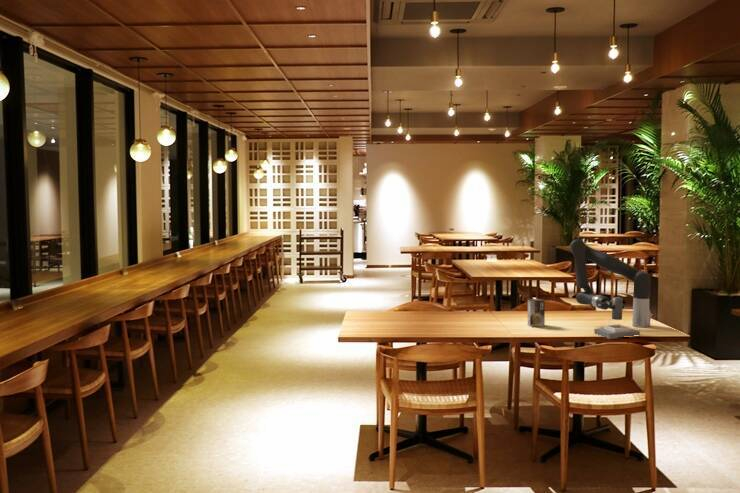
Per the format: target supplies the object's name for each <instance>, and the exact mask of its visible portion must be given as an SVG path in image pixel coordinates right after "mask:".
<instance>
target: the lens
mask: <svg viewBox="0 0 740 493" xmlns="http://www.w3.org/2000/svg"><path fill="white" fill-rule="evenodd" d="M611 298H612V300H611V301H612V305H615V309H611V319H612V320H615V321H616V320H617V321H620V320H623V309H622V305H624V304H623V302H624V300H623V297H620V296H619V297H617V296H614V297H611Z"/></svg>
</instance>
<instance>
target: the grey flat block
mask: <svg viewBox="0 0 740 493" xmlns="http://www.w3.org/2000/svg"><path fill="white" fill-rule="evenodd" d="M593 333H595V334H594V335H596V334H598V335H597V336H599V335H601V336H600V337H602V336H603V337H602V338H605V337H606V338H605V339H608V340H615V339H619V338H618V337H624V336H634V335H640V336H641V331H640V330H637V329H633V328H631V327H629V326H626V325H621V324H619V323H618V324H607V325H603V327H599V328H594V332H593Z"/></svg>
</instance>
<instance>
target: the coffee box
mask: <svg viewBox="0 0 740 493" xmlns="http://www.w3.org/2000/svg"><path fill="white" fill-rule="evenodd" d="M545 305H546V303H545V299H543V298H532V299H531V298H528V299H527V326H529V327H530V326H540V327H545V326H546V325H545V323H546V322H545V315H546V314H545V312H546V310H545V307H546V306H545Z"/></svg>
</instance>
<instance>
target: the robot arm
mask: <svg viewBox="0 0 740 493" xmlns="http://www.w3.org/2000/svg"><path fill="white" fill-rule="evenodd" d="M569 252H571V253H572V255H573V258H574V263H575V264H574V265H575V279H576V284H577V285H576V286H577V288H578V289H583V291H581V292H578V293H576V296H575V300H576V302H577V303H578V304H579V305H588V306H592V307H595V308H597V309H601V310H604V311H606V310H608V309H610V310H612V309H615V305H612V300H611V298H609V297H608V296H604V295H601V294H600V295H599V294H594V293H593V289H592V288H591V285H590V280H589V275H588V268H587V263H586V260H588V261H590V262H592V263H593V264H595V265H596V266H598V267H600V268H602V269H604V270H606V271H608V272H610V273H613V274H615V275H619V276H622V277H625V278H627V279H628V280H629V281H631V282H632V283H633V294H632V295H633V296H632V298H633V300H632V327H636V328H648V327H651V310H650V297H651V285H652V284H651V283H652V282H651V277H650V275H649V274H648V273H647V272H646V271H643V270H641V269H638V268H635V267H632V266H631V265H629V264H627V263H626V262H624V261H622V259H621V260H620V259H619V258H617V257H615V256H613V255H611V254H609V253H607V252H604V251H600V250H598V249H597V250H596V249H594V248H592V247H590V246H589V245H587V244H586V243H585V242H584V240H582V239H580V238H579V239H578V238H577V239H574V240H572V241H571V242H570V244H569ZM623 309H625V305H624V304H623V305H622V310H623Z"/></svg>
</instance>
